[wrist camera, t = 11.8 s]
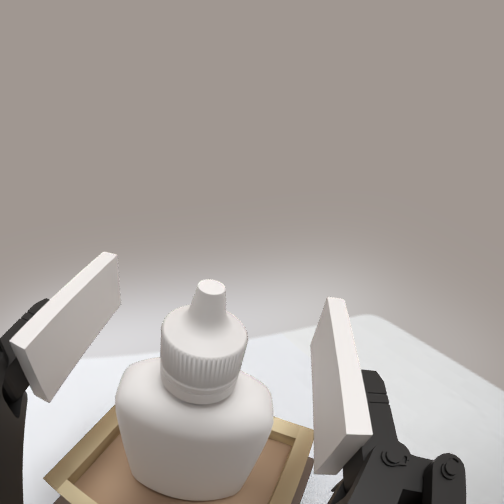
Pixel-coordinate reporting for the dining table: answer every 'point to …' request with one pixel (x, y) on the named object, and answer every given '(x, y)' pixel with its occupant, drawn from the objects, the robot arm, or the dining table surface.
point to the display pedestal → (147, 500)
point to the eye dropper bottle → (195, 405)
